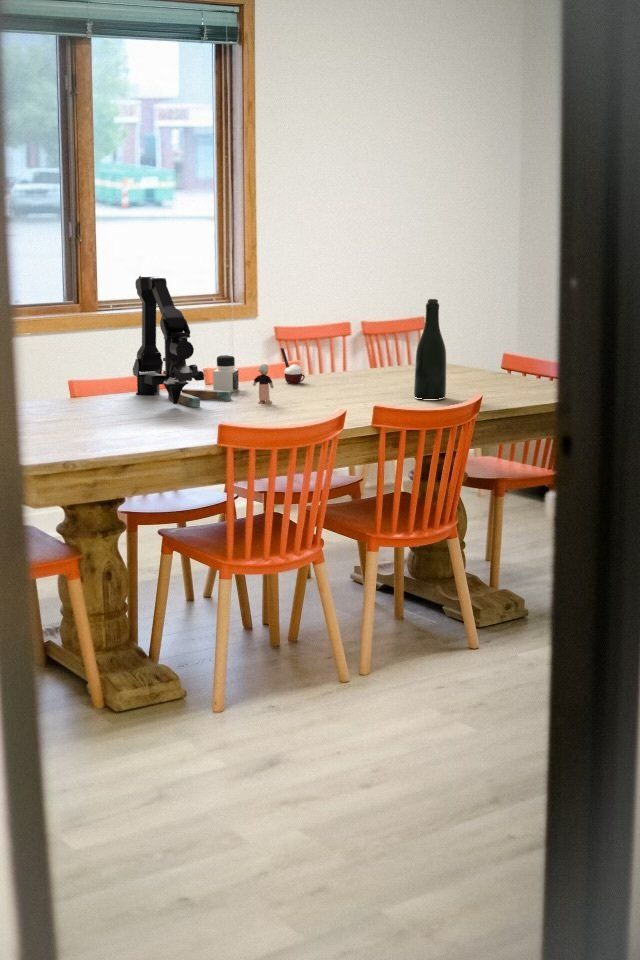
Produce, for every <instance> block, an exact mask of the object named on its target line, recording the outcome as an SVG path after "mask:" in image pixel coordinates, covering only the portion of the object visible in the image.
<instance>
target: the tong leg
mask: <svg viewBox="0 0 640 960" xmlns="http://www.w3.org/2000/svg"><path fill="white" fill-rule="evenodd" d="M168 400H169V401H172V400H171V398H170V396H169V398H168ZM177 404H181V405H185V406H188V407H191V408H200V407H201V399H200V398H198V397H195V396H192V395H189V394H185V393H182V391H181V393H180V396H179V399H178V402H177Z"/></svg>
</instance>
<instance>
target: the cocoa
mask: <svg viewBox="0 0 640 960" xmlns="http://www.w3.org/2000/svg"><path fill="white" fill-rule="evenodd" d="M280 351H281V356H282V359H283V362H284V364H285V367H286V368H285V369H284V371H283V372H284V379H285V381H286V383H287V384H291V385H297V384H299V383H301V382H303V381H304V380H305V377H306V376H305V374H303V369H302V368H301V366H300V365H298V364H292V365H289V362H288V359H287V358H288V357H287V356H286V355H287V354H286V351H285V347H284V348H283V347H281V348H280Z"/></svg>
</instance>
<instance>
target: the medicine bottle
mask: <svg viewBox="0 0 640 960" xmlns="http://www.w3.org/2000/svg"><path fill="white" fill-rule="evenodd" d="M235 366H236V365H235V357H234V355H228V354H225V355H223V354H222V355H218V356H217V357H216V368H217V369H215V370H213V372H212V381H213V382H212V383H213V384H212V385H213V386H212V387H213V389H212V390H219V391H231V394H232V393H234V392H236V391H238V390H239V369H238V368H235Z"/></svg>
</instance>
